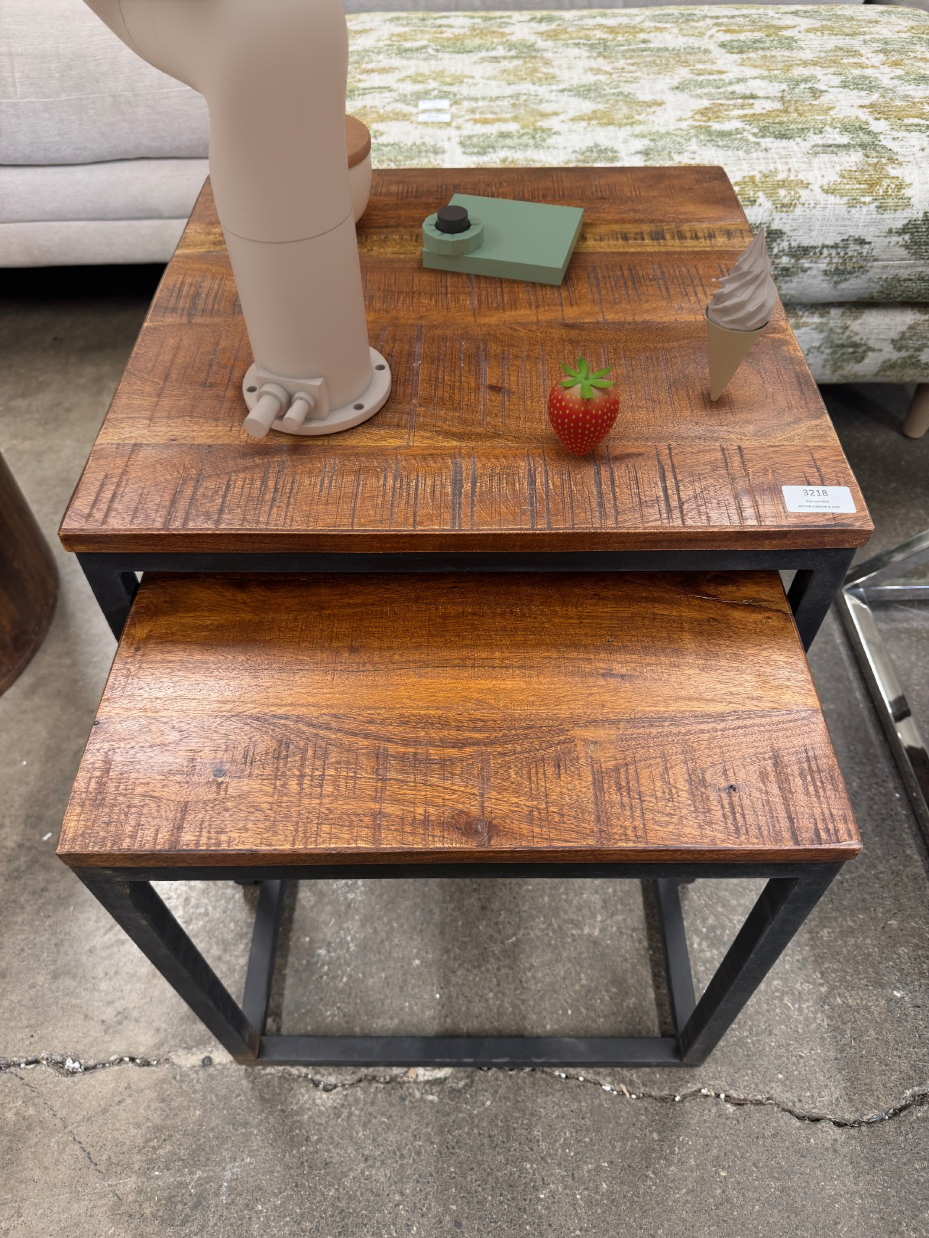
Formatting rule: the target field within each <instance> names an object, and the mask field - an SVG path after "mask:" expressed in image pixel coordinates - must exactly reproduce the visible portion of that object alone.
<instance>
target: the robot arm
mask: <svg viewBox="0 0 929 1238" xmlns="http://www.w3.org/2000/svg"><path fill="white" fill-rule="evenodd" d="M82 2H83V3H84V4H85V5H86V6H87V7H88V8H89V9H90V10H91V11H92V12H93V14H95V15H96V17H98V18H99V20H100V21H101V22H102V23H103V24H104V25H105V27H107V28H108V29H109V30H110V31H111V32H112V33H113V34H114V35H115V36H116V37H117V38H118V39H119V40H120V41H121V42H122V43H123V44H124V45H126V46H127V48H129V49H130V50H131V51H132V52H133V53H134V54H135V55H136V56H138V58H140V59H142V60H143V61H144V62H145V63H147V64H149V65H150V66H151V67H153V68H155V69H156V70H158V71H160V72H161V73H163V74H165V75H168V76H169V77H171V78H173V79H174V80H177V81H178V82H180V83H182V84H184V85H186V86H187V87H189V88H191V89H192V90H194V91H195V92H197V93H198V94H200V95H202V96H203V98H204V99H205V102H206V105H207V107H208V114H209V125H210V126H209V127H210V129H209V144H208V171H209V180H210V186H211V190H212V195H213V200H214V204H215V208H216V209H215V210H216V212H217V217H218V221H219V223H220V225H221V231H222V234H223V237H224V242H225V246H226V250H227V254H228V258H229V262H230V267H231V270H232V274H233V278H234V283H235V287H236V290H237V295H238V298H239V303H240V308H241V311H242V316H243V319H244V323H245V328H246V331H247V336H248V341H249V344H250V348H251V352H252V356H253V360H254V362H253V363H251V365H250V367H248V369H247V370H246V372H245V375H244V377H243V379H242V389H241V390H242V394H243V398H244V399H243V400H244V403H245V405H246V408H247V410H248V411H249V413H248V414H247V416H246V418H245V419H244V420H243V423H242V426H243V429H244V430H245V432H246V433H247V434H248V435H250V436H251V437H252V438H256V439H263V438H265V437H266V435H267V434H268V433H269V431H270V430H271V429H273V430H276V431H278V432H283V433H284V434H285V433H286V434H291V435H298V436H320V435H327V434H334V433H337V432H342V431H345V430H348V429H350V428H353V427H356V426H358V425H360V424H362V423H363V422H365V421H368V419H370V418H371V417H373V416H374V415H375V414H376V413H378V412H379V411H380V410H381V408H382V407H383V406H384V405H385V404H386V402H387V401H388V399H389V396H390V395H391V390H392V385H393V384H392V374H391V373H392V372H391V368H390V364H389V363H388V362H387V360H386V359H385V356H383V354H381V353H380V352H379V351H378V350H377V349H375V348H373V347H372V346H370V339H369V333H368V324H367V315H366V307H365V298H364V289H363V282H362V281H363V280H362V272H361V265H360V256H359V247H358V238H357V230H356V229H357V228H356V224H355V220H354V212H353V204H352V198H351V189H350V180H349V171H348V161H347V148H346V125H345V115H346V110H347V105H346V104H347V90H348V73H349V57H350V56H349V55H350V52H349V51H350V50H349V49H350V46H349V44H350V43H349V31H348V23H347V17H346V14H345V11H344V10H345V9H344V7H343V4H342V3H343V2H342V0H82Z"/></svg>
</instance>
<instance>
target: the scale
mask: <svg viewBox="0 0 929 1238" xmlns="http://www.w3.org/2000/svg"><path fill="white" fill-rule="evenodd" d="M449 205H457V206H461V207H464V208H465V209H466V210H467V211H468V230H467V231H465V232H463V233H457V234H446V233H442V232H440V231H438V223H437V212H438V211H436V212H434V213H432V214H430V215H428V216H426V217H425V219H424V221H423V223H422V224H421V233H422V235H421V236H422V242H423V244H424V246H423V248H422V250H421V251H422V252H421V253H422V254H421V255H422V267H423V268H425V269H433V270H440V271H448V272H455V273H463V274H470V275H478V276H486V277H494V278H500V279H506V280H507V279H508V280H515V281H522V282H530V283H539V284H545V285H552V286H553V285H554V286H561V285H562V283H563V281H564V280H563V279H564V278H565V277H564V276H565V274H566V272H567V270H568V266H569V263H570V260H571V258H572V255H573V253H574V250H575V247H576V244H577V241H578V238H579V236H580V233H581V230H582V227H583V222H584V215H585V214H584V211H585V208H583V207H576V206H575V207H574V206H567V205H566V206H565V205H557V204H548V203H540V202H532V201H524V200H516V199H507V198H499V197H497V198H496V197H489V196H481V195H472V194H466V193H465V194H464V193H454V194H453V196H452V197H451V199H450V201H449V203H448V204H447V206H449Z"/></svg>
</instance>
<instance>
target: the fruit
mask: <svg viewBox="0 0 929 1238" xmlns="http://www.w3.org/2000/svg"><path fill="white" fill-rule="evenodd" d="M559 364H560V366H561V368H562V369H563V371H564V372H565V373H566V374H564V375H562V376H561V377H559V378H558V379H557V380H556V382H554V384H553V385H552V387H551V390H550V392H549V395H548V400H547V414H548V419H549V423H550V425H551V427H552V429H553V432H554V433H555V435H556V437H557V438H558V440H559V441H560V443H561V444H562V445H563V447H564V448H565V449H566V450H567V451H568V452H570V453H571V454H573V455H576V456H579V455H580V456H581V455H585V454H587V453H589V452H591V451H592V450H594V449H595V448H596V447H597V446H598V445H599V444H600V443H601V442H602V441H603V440H604V439H605V438H606V437H607V436H608V435H609V433H610V431H611V430H612V428H613V427H614V424H615V423H616V420H617V417H618V415H619V411H620V397H619V394H618V390H617V388H616V386H615V384H617V381H611V380H609V379H608V378H606V377H605V376H607V375H608V374H609V373H610V371H611V370H612V369H613V367H614V366H613V365H610V366H608V367H605V368H603V369H600V370H598V371H596V372H593V373H592V372H590V371H591V370H590V363H587V361H586V359H585V358H584V357H583V356H579V357H578V358H577V363H576V365H577V370H578V371H577V370H574V369H573V368H570V367H568V366H567V365H566V364H565V363H563V362H561V361H560V362H559Z"/></svg>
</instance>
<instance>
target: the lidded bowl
mask: <svg viewBox="0 0 929 1238" xmlns="http://www.w3.org/2000/svg"><path fill="white" fill-rule="evenodd" d="M345 125H346V148H347V161H348V171H349V180H350V189H351V198H352V204H353V212H354V220H355V225H356V224H357V223H358V222H359V220H360V219H361V217H362V216H363V215H364V213H365V211H366V209H367V206H368V203H369V200H370V196H371V189H372V181H373V180H372V178H373V172H372V171H373V163H372V153H371V149H372V136H371V132H370V130H369V128H368V127H367V126H366V124H365V123H364V122H362V121H361V120H360V119H358V118H356V117H353V116H351V115H349V114H345Z"/></svg>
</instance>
